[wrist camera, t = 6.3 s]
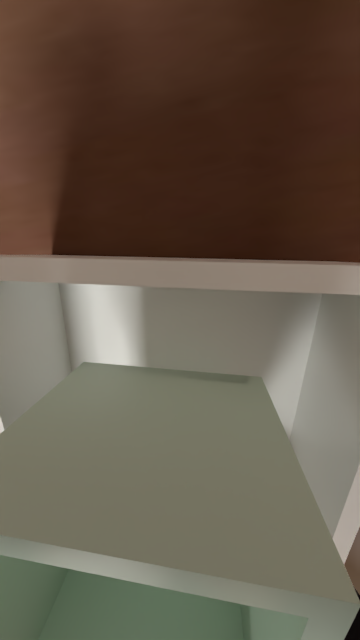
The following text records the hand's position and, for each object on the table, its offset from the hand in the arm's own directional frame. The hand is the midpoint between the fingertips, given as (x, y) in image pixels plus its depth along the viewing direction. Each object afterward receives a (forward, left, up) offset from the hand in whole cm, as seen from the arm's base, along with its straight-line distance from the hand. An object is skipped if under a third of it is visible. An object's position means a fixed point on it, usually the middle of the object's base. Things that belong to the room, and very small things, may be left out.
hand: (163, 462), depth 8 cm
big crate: (0, 0, -5) cm, 5 cm away
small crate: (0, 0, -1) cm, 1 cm away
